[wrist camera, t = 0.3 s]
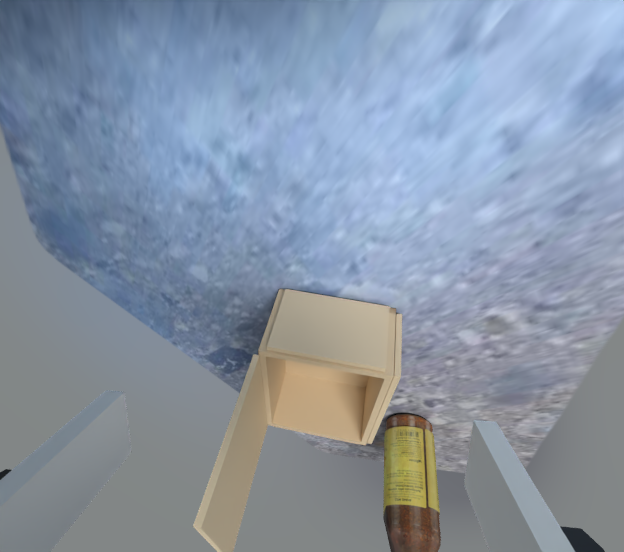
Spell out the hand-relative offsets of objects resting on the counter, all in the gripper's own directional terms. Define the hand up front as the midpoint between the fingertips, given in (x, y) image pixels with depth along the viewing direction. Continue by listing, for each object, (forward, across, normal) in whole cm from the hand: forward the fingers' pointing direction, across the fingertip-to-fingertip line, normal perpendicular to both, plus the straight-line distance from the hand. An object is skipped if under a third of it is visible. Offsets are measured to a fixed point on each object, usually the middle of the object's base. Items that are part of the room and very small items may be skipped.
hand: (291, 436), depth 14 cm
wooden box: (+25, 0, -8) cm, 26 cm away
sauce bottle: (+32, +11, -22) cm, 40 cm away
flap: (+19, -6, -11) cm, 22 cm away
